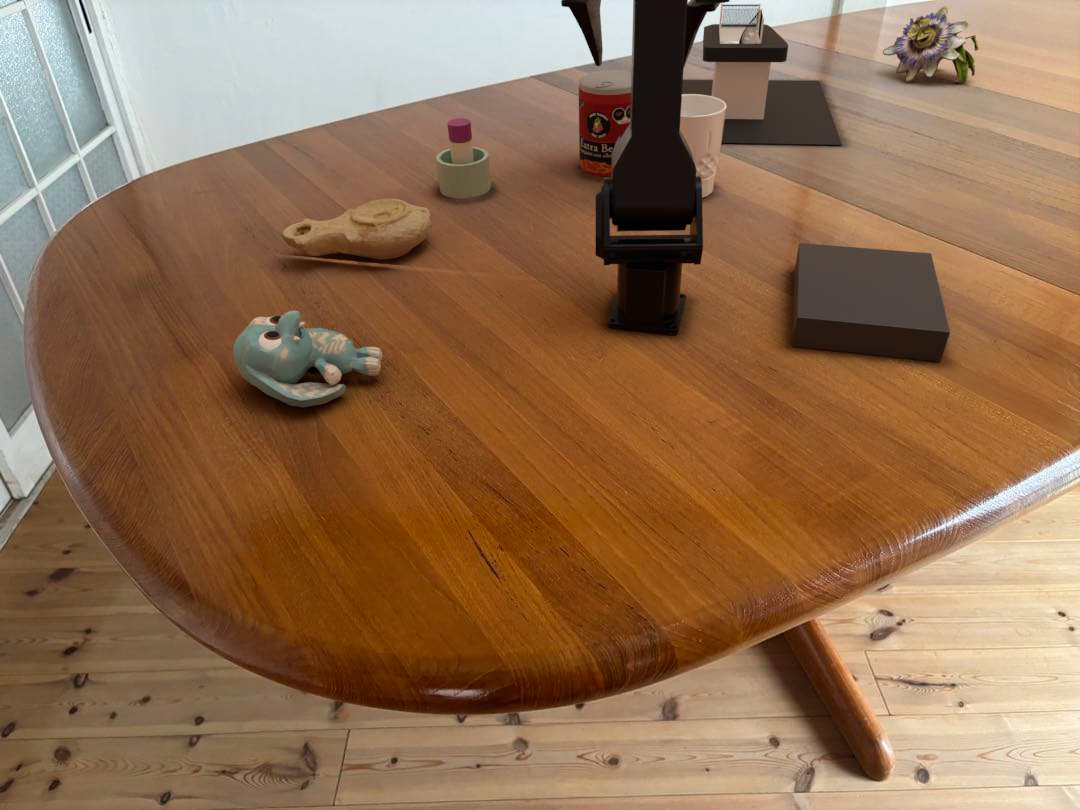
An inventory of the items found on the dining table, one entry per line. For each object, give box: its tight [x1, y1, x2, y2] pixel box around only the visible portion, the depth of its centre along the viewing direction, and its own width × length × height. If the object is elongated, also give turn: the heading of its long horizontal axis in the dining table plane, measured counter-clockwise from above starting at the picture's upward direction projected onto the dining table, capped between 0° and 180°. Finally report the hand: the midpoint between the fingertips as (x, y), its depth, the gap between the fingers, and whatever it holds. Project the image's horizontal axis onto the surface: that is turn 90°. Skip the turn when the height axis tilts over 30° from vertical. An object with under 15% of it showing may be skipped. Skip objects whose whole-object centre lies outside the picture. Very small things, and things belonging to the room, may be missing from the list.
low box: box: [791, 242, 951, 363], centre depth 74 cm, size 14×12×3 cm
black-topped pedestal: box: [682, 3, 843, 146], centre depth 116 cm, size 28×26×13 cm
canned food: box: [578, 69, 632, 178], centre depth 101 cm, size 8×8×11 cm
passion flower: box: [882, 5, 980, 85], centre depth 127 cm, size 11×11×12 cm
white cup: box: [680, 94, 726, 199], centre depth 95 cm, size 8×8×10 cm
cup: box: [435, 146, 492, 200], centre depth 99 cm, size 6×6×4 cm
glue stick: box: [446, 118, 474, 164], centre depth 97 cm, size 3×3×8 cm
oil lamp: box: [281, 198, 433, 260], centre depth 86 cm, size 11×14×5 cm
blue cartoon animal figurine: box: [232, 309, 384, 408], centre depth 68 cm, size 11×7×12 cm
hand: (639, 67), depth 90 cm, fingers open, 9 cm apart
